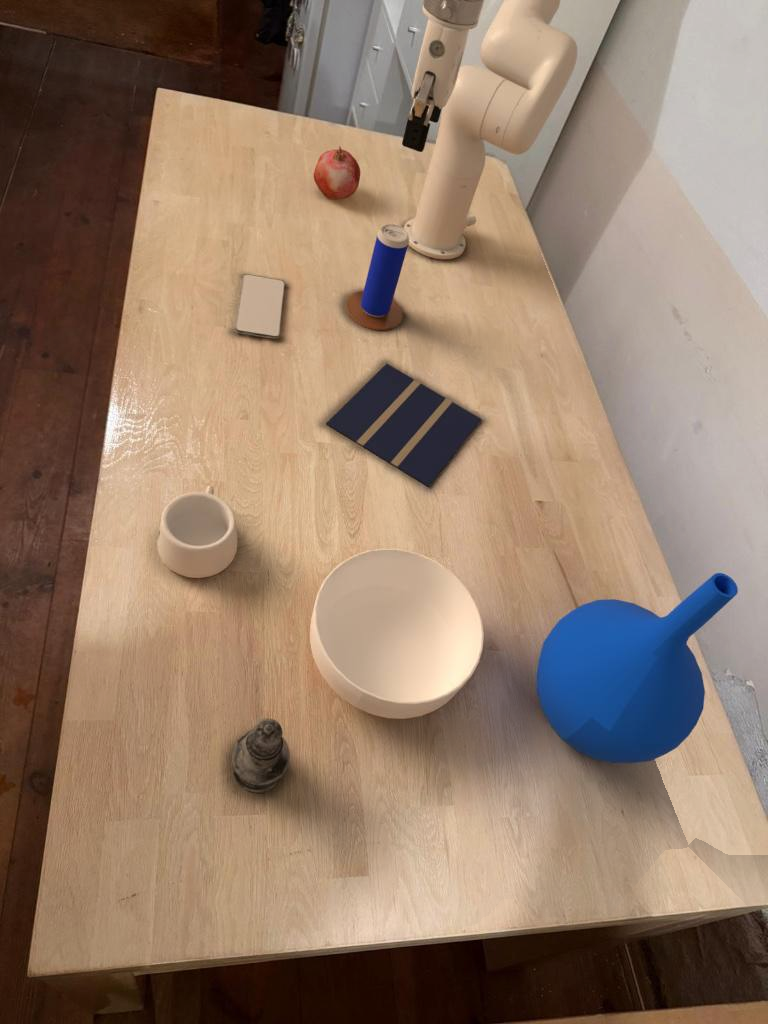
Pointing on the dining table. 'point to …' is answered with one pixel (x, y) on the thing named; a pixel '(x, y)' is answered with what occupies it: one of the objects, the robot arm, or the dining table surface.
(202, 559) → the mug
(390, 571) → the bowl
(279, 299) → the smartphone
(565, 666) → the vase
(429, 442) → the plate
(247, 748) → the dark stone chess piece
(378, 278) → the beverage can
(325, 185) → the fruit
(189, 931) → the dining table surface
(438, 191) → the robot arm
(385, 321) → the coaster
